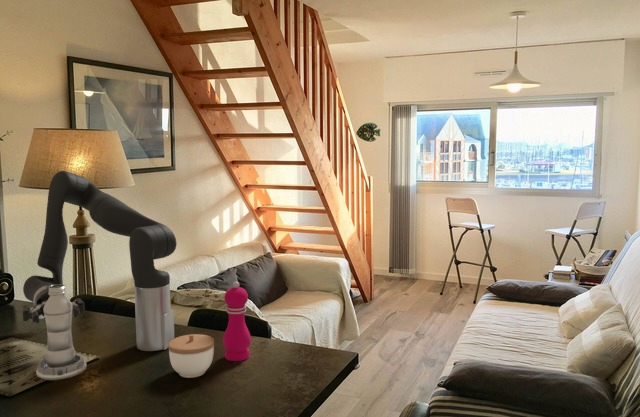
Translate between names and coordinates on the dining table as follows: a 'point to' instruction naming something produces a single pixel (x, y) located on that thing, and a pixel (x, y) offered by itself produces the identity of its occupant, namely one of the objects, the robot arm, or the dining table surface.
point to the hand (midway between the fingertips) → (56, 316)
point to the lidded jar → (191, 354)
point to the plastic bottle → (59, 328)
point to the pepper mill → (236, 325)
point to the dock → (61, 369)
